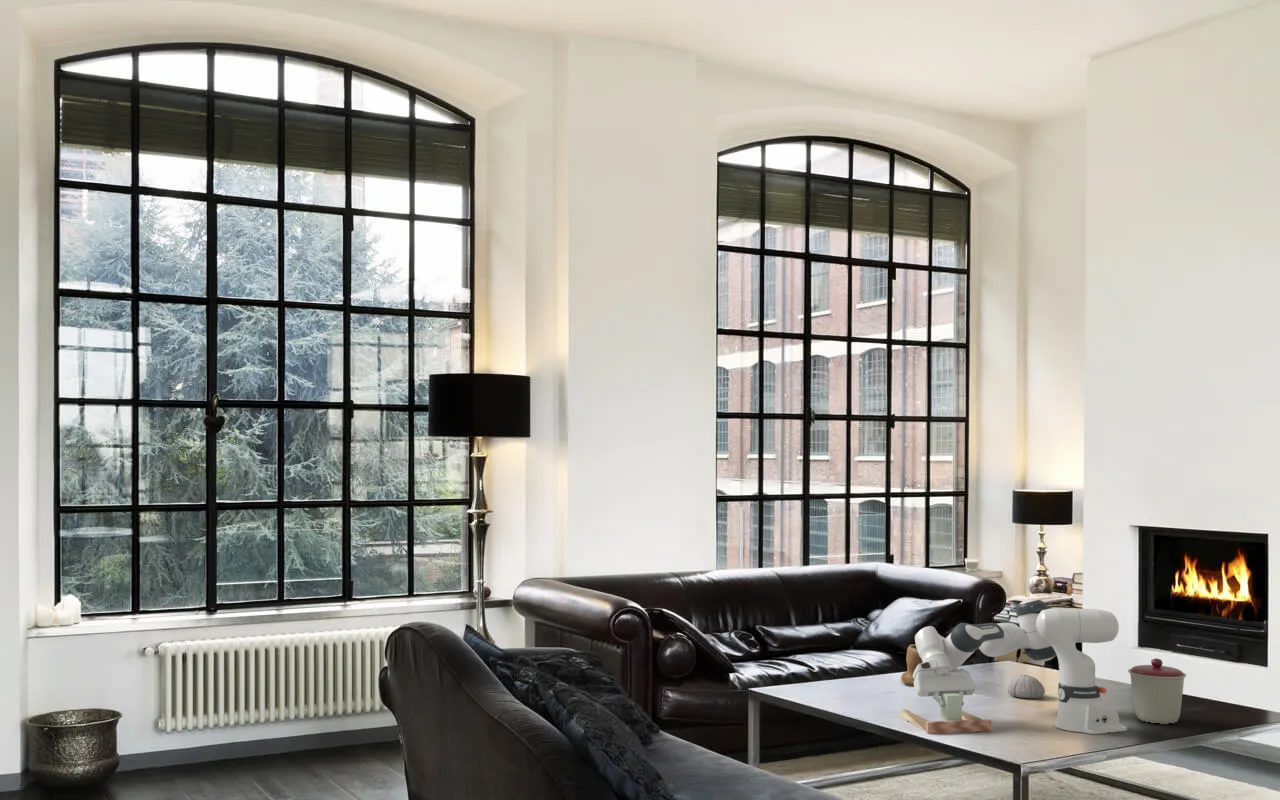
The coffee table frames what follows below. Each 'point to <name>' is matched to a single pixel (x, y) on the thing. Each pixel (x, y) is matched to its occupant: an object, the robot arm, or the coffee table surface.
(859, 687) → the coffee table surface
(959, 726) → the bay
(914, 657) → the tan boot
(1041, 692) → the sea urchin shell
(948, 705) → the pale green block
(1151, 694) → the canister
